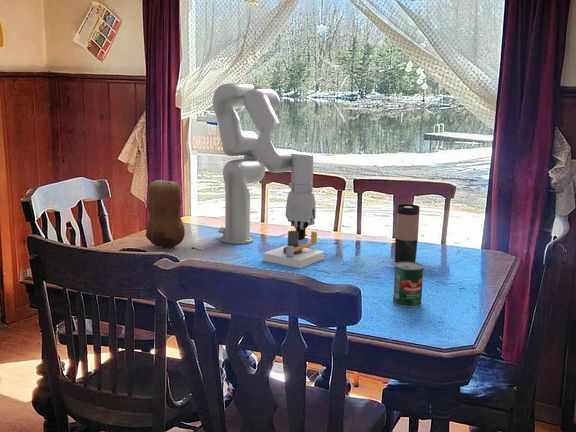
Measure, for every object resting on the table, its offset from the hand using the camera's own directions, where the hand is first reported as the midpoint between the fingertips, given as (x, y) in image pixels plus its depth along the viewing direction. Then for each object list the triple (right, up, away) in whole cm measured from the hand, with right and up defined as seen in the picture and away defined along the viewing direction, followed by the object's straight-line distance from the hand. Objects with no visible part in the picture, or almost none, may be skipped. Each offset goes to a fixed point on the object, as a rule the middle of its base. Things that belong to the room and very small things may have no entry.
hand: (300, 239), depth 223 cm
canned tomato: (+29, -16, -46) cm, 57 cm away
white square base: (-3, -8, -8) cm, 12 cm away
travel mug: (+36, -8, -3) cm, 38 cm away
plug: (-3, -7, -8) cm, 11 cm away
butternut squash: (-50, -3, +9) cm, 51 cm away
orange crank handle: (0, -4, -9) cm, 10 cm away
